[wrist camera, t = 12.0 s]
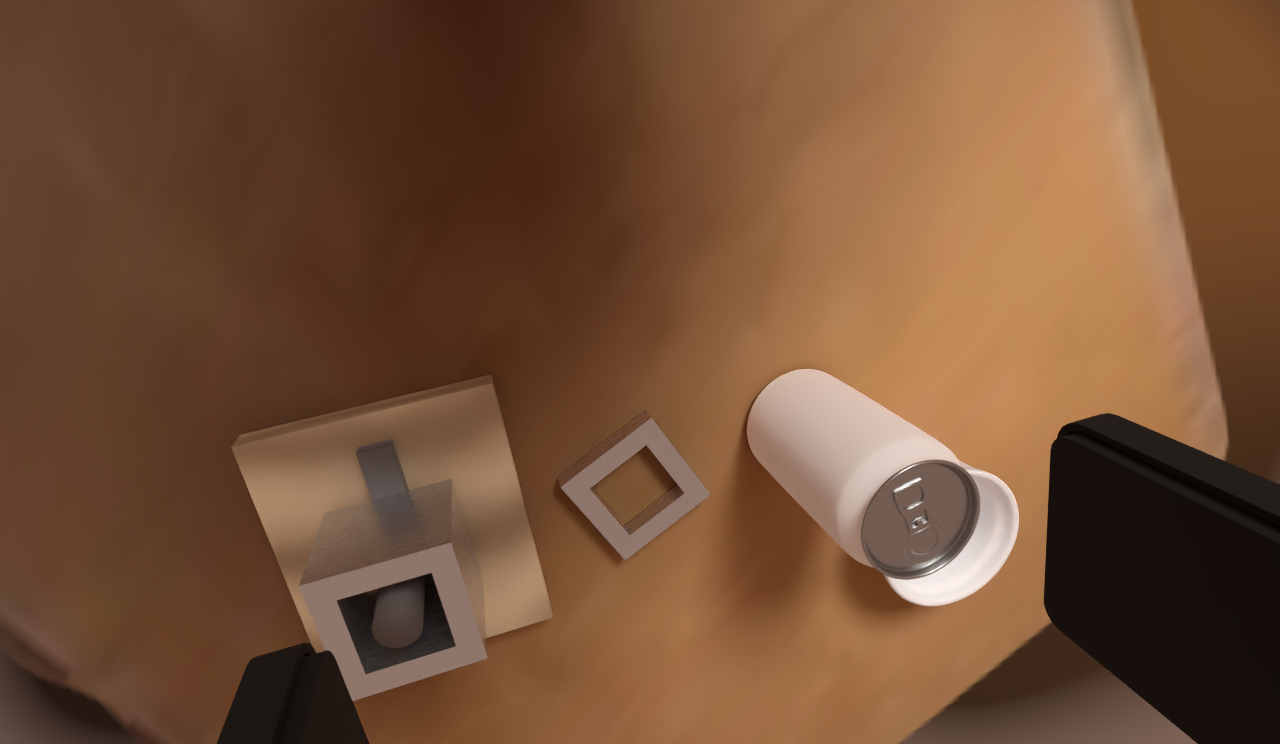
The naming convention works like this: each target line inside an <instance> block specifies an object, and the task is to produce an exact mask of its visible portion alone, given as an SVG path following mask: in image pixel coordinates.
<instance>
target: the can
mask: <svg viewBox="0 0 1280 744" xmlns="http://www.w3.org/2000/svg"><path fill="white" fill-rule="evenodd" d="M747 438H748V443H749V446H750V449H751V451H752V453H753V454H754V456H755V457H756V459H757V460H758V461H759V462H760V464H761V465H762V466H763V467H764V468H765V469H766V470H767V471H768V472H769V473H770V474H771V475H772V476H773V478H774V479H775V480H776V481H777V482H778V483H779V484H780V485H781V486H782V487H783V488H784V489H785V490H786V491H787V492H788V493H789V494H790V495H791V496H792V497H793V499H794V500H795V501H796V502H797V503H798V504H799V505H800V506H801V507H802V508H803V509H804V510H805V511H806V512H807V513H808V514H809V515H810V516H811V517H812V518H813V519H814V520H815V521H816V522H817V523H818V524H819V526H820V527H821V528H822V529H823V530H824V531H825V532H826V533H827V534H828V535H829V536H830V537H831V538H832V539H833V540H834V541H835V542H836V543H837V544H838V545H839V546H840V547H841V548H842V549H843V550H844V551H845V552H846V553H847V554H849V555H850V556H851V557H852V558H854V559H855V560H856V561H858V562H860V563H862V564H864V565H867V566H869V567H873V568H875V569H876V570H877V571H879V572H880V573H882V574H884V575H886V576H888V577H891V578H895V579H902V580H910V579H917V578H921V577H925V576H928V575H930V574H932V573H934V572H936V571H938V570H940V569H942V568H943V567H945V566H946V565H947V564H949V563H950V562H951V561H952V560H954V559H955V558H956V557H957V556H958V555H959V554H960V552H961V551H962V550H963V549H964V548H965V546H966V545H967V543H968V542H969V540H970V538H971V537H972V535H973V533H974V530H975V528H976V525H977V522H978V518H979V513H980V496H979V491H978V488H977V485H976V483H975V481H974V479H973V478H972V476H971V475H970V474H969V473H968V472H967V471H966V470H965V469H964V468H962V467H961V465H960V463H959V461H958V459H957V458H956V456H955V455H954V454H953V453H952V452H951V451H950V450H949V449H948V448H947V447H946V446H944V445H943V444H942V443H940V442H939V441H937V440H936V439H934V438H933V437H931V436H930V435H928V434H927V433H925V432H923V431H922V430H920V429H919V428H917V427H915V426H914V425H912V424H911V423H909V422H907V421H906V420H904V419H902V418H901V417H899V416H898V415H896V414H894V413H893V412H891V411H889V410H888V409H886V408H885V407H883V406H881V405H880V404H878V403H876V402H875V401H873V400H871V399H870V398H868V397H867V396H865V395H863V394H862V393H860V392H858V391H857V390H855V389H853V388H852V387H850V386H848V385H847V384H845V383H843V382H842V381H840V380H838V379H837V378H835V377H833V376H831V375H829V374H827V373H825V372H822V371H819V370H814V369H800V370H795V371H791V372H788V373H786V374H784V375H782V376H780V377H778V378H776V379H775V380H774V381H772V382H771V383H770V384H769V385H767V386H766V387H765V388H764V390H763V391H762V392H761V393H760V394H759V396H758V397H757V399H756V400H755V402H754V404H753V406H752V408H751V411H750V414H749V417H748V422H747Z"/></svg>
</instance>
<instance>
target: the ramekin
mask: <svg viewBox="0 0 1280 744" xmlns="http://www.w3.org/2000/svg"><path fill="white" fill-rule="evenodd" d="M958 461H959V460H958ZM959 463H960V465H961V467H962V468H964V469H965V470H966V471H967V472H968V473H969V474H970V475H971V476H972V478H973V479H974V481H975V483H976V485H977V488H978V491H979V496H980V513H979V518H978V522H977V525H976V528H975V530H974V533H973V535H972V537H971V538H970V540H969V542H968V543H967V545H966V546H965V548H964V549H963V550H962V551H961V552H960V554H959V555H958V556H957V557H956V558H955V559H954V560H952V561H951V562H950V563H949V564H947V565H946V566H945V567H943V568H942V569H940V570H938V571H936V572H934V573H932V574H930V575H928V576H925V577H921V578H917V579H910V580H902V579H895V578H891V577H888V576H886V575H884V574H883V575H884V577H885V579H886V580H887V582H888V583H889V585H890V586H891V587H892V589H893V590H894V591H895V592H896V593H897V594H898V595H899V596H901V597H902V598H903V599H905V600H907V601H909V602H911V603H914V604H917V605H921V606H940V605H945V604H950V603H953V602H956V601H959V600H961V599H963V598H965V597H967V596H969V595H971V594H973V593H974V592H976V591H977V590H979V589H980V588H981V587H983V586H984V585H985V584H986V583H987V582H988V581H990V580H991V579H992V577H993V576H995V574H996V573H997V572H998V571H999V570H1000V568H1001V567H1002V566H1003V564H1004V562H1005V561H1006V559H1007V558H1008V556H1009V554H1010V552H1011V550H1012V548H1013V545H1014V543H1015V540H1016V536H1017V532H1018V526H1019V513H1018V506H1017V502H1016V500H1015V497H1014V495H1013V493H1012V491H1011V490H1010V489H1009V487H1008V486H1007V485H1006V484H1005V483H1004V482H1003V481H1002V480H1001V479H999V478H998V477H996V476H995V475H993V474H990V473H988V472H985V471H982V470H979V469H975V468H973V467H971V466H969V465H967V464H965V463H963V462H961V461H959Z"/></svg>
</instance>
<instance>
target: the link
mask: <svg viewBox="0 0 1280 744" xmlns="http://www.w3.org/2000/svg"><path fill="white" fill-rule="evenodd" d="M429 573H432V575H433V576H431V577H427V578H426V586H425V602H424V618H423V630H422V633H421V635H420V636H419V638H418V639H417V640H416V641H415V642H413V643H412V644H410V645H408V646H406V647H402V648H389V647H385V646H383V645H381V644H380V643H378V642H377V641H376V640H375V638H374V636H373V634H372V624H373V618H374V612H375V606H376V600H377V594H378V588H381V587H384V586H388V585H391V584H395V583H398V582H402V581H405V580H408V579H412V578H415V577H419V576H422V575H426V574H429ZM299 588H300V590H301V593H302V595H303V598H304V600H305V602H306V605H307V607H308V610H309V612H310V615H311V617H312V619H313V622H314V624H315V627H316V629H317V632H318V634H319V636H320V639H321V641H322V644H323V646H324V649H325V651H326V650H328V651H331V652H332V654H333V655H334V657H335V659H336V661H337V664H338V666H339V669H340V671H341V674H342V676H343V679H344V681H345V684H346V686H347V689H348V691H349V694H350V696H351V699H352V701H355V700H358V699H361V698H364V697H368V696H371V695H374V694H377V693H380V692H383V691H386V690H390V689H393V688H396V687H399V686H402V685H405V684H409V683H412V682H415V681H418V680H421V679H424V678H428V677H431V676H434V675H437V674H440V673H443V672H447V671H450V670H453V669H456V668H459V667H462V666H466V665H469V664H472V663H475V662H478V661H481V660H485V659H488V652H487V637H486V622H485V608H484V593H483V580H482V577H481V574H480V570H479V567H478V564H477V560H476V557H475V554H474V551H473V547H472V544H471V541H470V537H469V534H468V531H467V528H466V524H465V521H464V518H463V514H462V511H461V508H460V505H459V501H458V498H457V495H456V491H455V488H454V485H453V481H452V479H449V480H445V481H441V482H438V483H434V484H430V485H426V486H423V487H419V488H415V489H412V490H408V491H404V492H401V493H397V494H393V495H389V496H386V497H382V498H378V499H375V500H371V501H367V502H364V503H360V504H356V505H352V506H349V507H345V508H341V509H338V510H334V511H330V512H327V513H324V515H323V518H322V521H321V524H320V527H319V529H318V532H317V535H316V538H315V541H314V544H313V547H312V550H311V552H310V555H309V558H308V561H307V564H306V567H305V570H304V572H303V575H302V578H301V581H300V584H299Z"/></svg>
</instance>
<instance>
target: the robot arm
mask: <svg viewBox="0 0 1280 744" xmlns="http://www.w3.org/2000/svg"><path fill="white" fill-rule="evenodd" d="M1044 605H1045V609H1046V612H1047V614H1048V616H1049V618H1050V620H1051V621H1052V622H1053V624H1054V625H1055V626H1056V627H1057V628H1058V629H1059V630H1060V631H1061V632H1062V633H1064V634H1065V635H1066V636H1067V637H1069V638H1070V639H1071V640H1072V641H1073V642H1075V643H1076V644H1077V645H1078V646H1080V647H1081V648H1082V649H1083V650H1084V651H1086V652H1087V653H1088V654H1089V655H1091V656H1092V657H1093V658H1094V659H1096V660H1097V661H1098V662H1099V663H1100V664H1102V665H1103V666H1104V667H1105V668H1106V669H1108V670H1109V671H1110V672H1111V673H1112V674H1114V675H1115V676H1116V677H1117V678H1119V679H1120V680H1121V681H1122V682H1123V683H1125V684H1126V685H1127V686H1128V687H1130V688H1131V689H1132V690H1133V691H1134V692H1136V693H1137V694H1138V695H1139V696H1141V697H1142V698H1143V699H1144V700H1145V701H1147V702H1148V703H1149V704H1150V705H1152V706H1153V707H1154V708H1155V709H1156V710H1158V711H1159V712H1160V713H1161V714H1162V715H1164V716H1165V717H1166V718H1167V719H1169V720H1170V721H1171V722H1172V723H1173V724H1175V725H1176V726H1177V727H1178V728H1180V729H1181V730H1182V731H1183V732H1184V733H1186V734H1187V735H1188V736H1189V737H1190V738H1192V739H1193V740H1194V741H1195V742H1196V743H1198V744H1280V485H1279V484H1277V483H1275V482H1272V481H1270V480H1268V479H1265V478H1263V477H1261V476H1258V475H1256V474H1254V473H1251V472H1248V471H1246V470H1244V469H1242V468H1239V467H1237V466H1235V465H1232V464H1230V463H1228V462H1225V461H1223V460H1221V459H1218V458H1216V457H1214V456H1211V455H1209V454H1207V453H1204V452H1202V451H1200V450H1197V449H1195V448H1193V447H1190V446H1188V445H1186V444H1183V443H1181V442H1178V441H1176V440H1174V439H1171V438H1169V437H1167V436H1164V435H1162V434H1160V433H1157V432H1155V431H1153V430H1150V429H1148V428H1146V427H1143V426H1141V425H1139V424H1136V423H1134V422H1132V421H1129V420H1127V419H1125V418H1122V417H1120V416H1118V415H1114V414H1110V413H1107V414H1100V415H1097V416H1093V417H1090V418H1086V419H1083V420H1079V421H1076V422H1072V423H1069V424H1067V425H1065V426H1063V427H1062V428H1061V430H1060V431H1059V433H1058V437H1057V439H1056V440H1055V441H1054V442H1053V444H1052V447H1051V455H1050V477H1049V499H1048V521H1047V543H1046V565H1045V587H1044ZM217 744H369V742H368V739H367V737H366V734H365V732H364V729H363V727H362V724H361V722H360V719H359V716H358V714H357V711H356V709H355V706H354V704H353V701H352V699H351V696H350V694H349V691H348V689H347V686H346V684H345V681H344V679H343V676H342V674H341V671H340V669H339V666H338V664H337V661H336V659H335V657H334V655H333V654H332V652H331V651H328V650H326V651H323V652H319V653H316V651H315V649H314V648H313V647H312V646H311V645H310V644H309V643H302V644H299V645H296V646H292V647H289V648H285V649H282V650H278V651H275V652H271V653H268V654H264V655H261V656H257V657H254V658H253V659H251V660H250V662H249V663H248V665H247V667H246V669H245V672H244V674H243V677H242V680H241V682H240V685H239V687H238V690H237V693H236V695H235V698H234V700H233V703H232V706H231V708H230V711H229V713H228V716H227V719H226V721H225V724H224V726H223V729H222V731H221V734H220V737H219V739H218V742H217Z"/></svg>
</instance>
